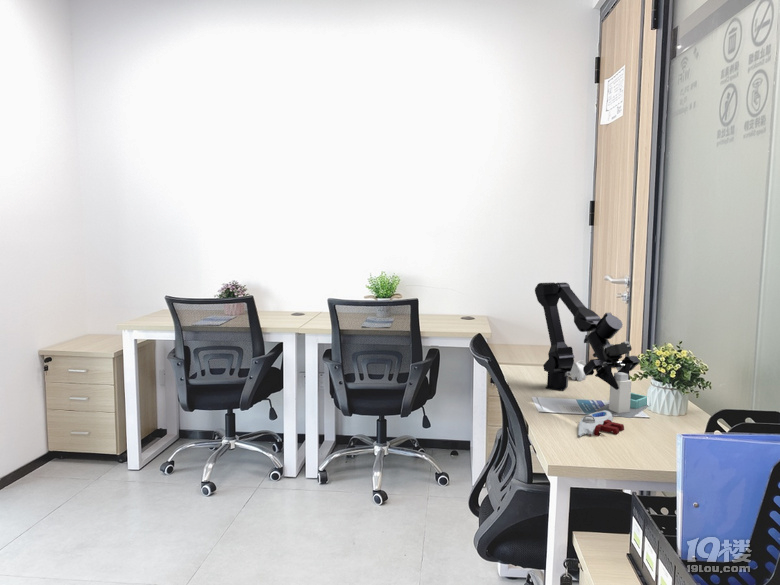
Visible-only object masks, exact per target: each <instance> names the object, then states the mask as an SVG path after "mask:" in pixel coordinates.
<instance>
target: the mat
mask: <svg viewBox="0 0 780 585" xmlns="http://www.w3.org/2000/svg"><path fill="white" fill-rule="evenodd" d="M649 407H650V406H648V405H645V406H643V407H640V408H637V409H635V408H631V407H630V412H625V413H617V412H614V411H612V410H610V409H609V403H607V404H604V405H603V406H602V407H599V408H598V409H596V410H595V412H600V411H604V410H606V411H609V412H611V414H612V416H617V417H622V418H627V419H632V418H633V417H636V416H637V415H638V414H640V413H641V412H644V410H645V409H648V408H649Z"/></svg>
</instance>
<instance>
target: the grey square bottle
mask: <svg viewBox="0 0 780 585" xmlns="http://www.w3.org/2000/svg"><path fill="white" fill-rule="evenodd" d="M617 372H618V371H617ZM617 372H614V373H613V376H614V378H615V380H616V382H617V384H618V387H619V389H618V390H616V389H614V388H613V387H612V386H610V385H609V402H608V404H609V409H610V410H612V411H614V412H617V413H625V412H630V398H631V393H632V380H631V379H630V380H628V375H629V376H630V373H629V374H626V373H623V372H618V373H617Z"/></svg>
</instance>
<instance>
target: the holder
mask: <svg viewBox="0 0 780 585" xmlns="http://www.w3.org/2000/svg"><path fill="white" fill-rule="evenodd" d="M645 405H647V395H643V394H639V393H634V392H631V398H630V407H631V408H635V409H637V408H640V407H643V406H645Z"/></svg>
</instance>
